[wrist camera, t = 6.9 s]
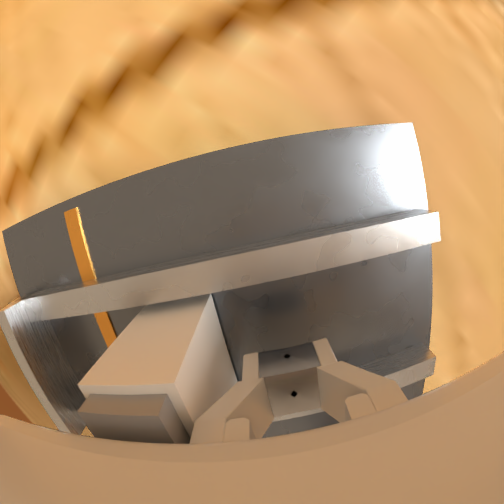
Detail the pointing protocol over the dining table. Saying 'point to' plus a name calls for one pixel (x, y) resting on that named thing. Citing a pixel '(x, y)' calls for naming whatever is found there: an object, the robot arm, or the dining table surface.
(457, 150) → the dining table surface
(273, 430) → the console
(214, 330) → the fader tab
